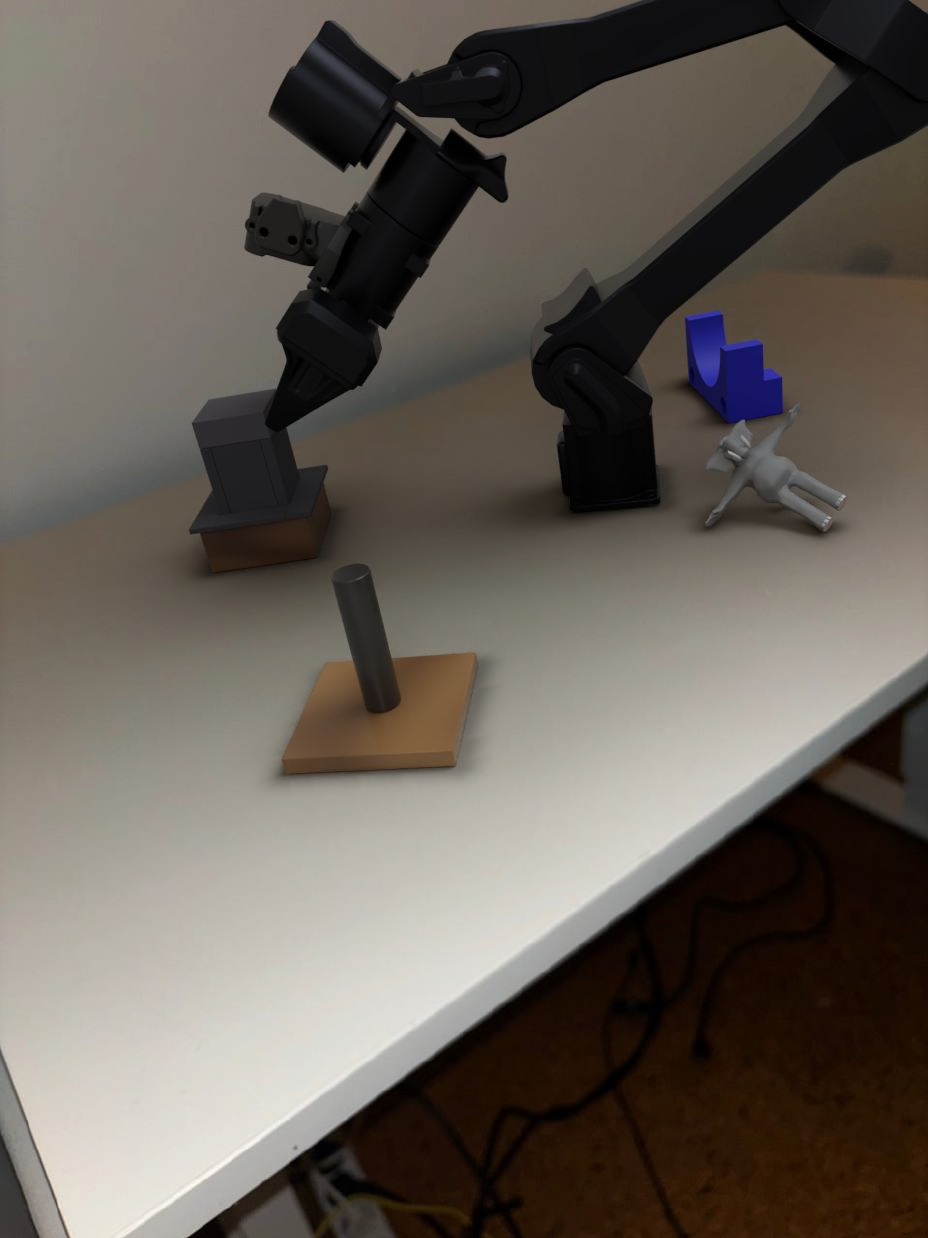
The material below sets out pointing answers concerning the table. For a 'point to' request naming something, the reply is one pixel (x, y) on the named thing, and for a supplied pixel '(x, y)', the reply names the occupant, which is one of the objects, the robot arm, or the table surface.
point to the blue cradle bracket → (730, 371)
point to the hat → (250, 466)
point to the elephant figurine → (769, 474)
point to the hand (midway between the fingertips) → (282, 406)
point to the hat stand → (380, 697)
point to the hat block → (268, 540)
